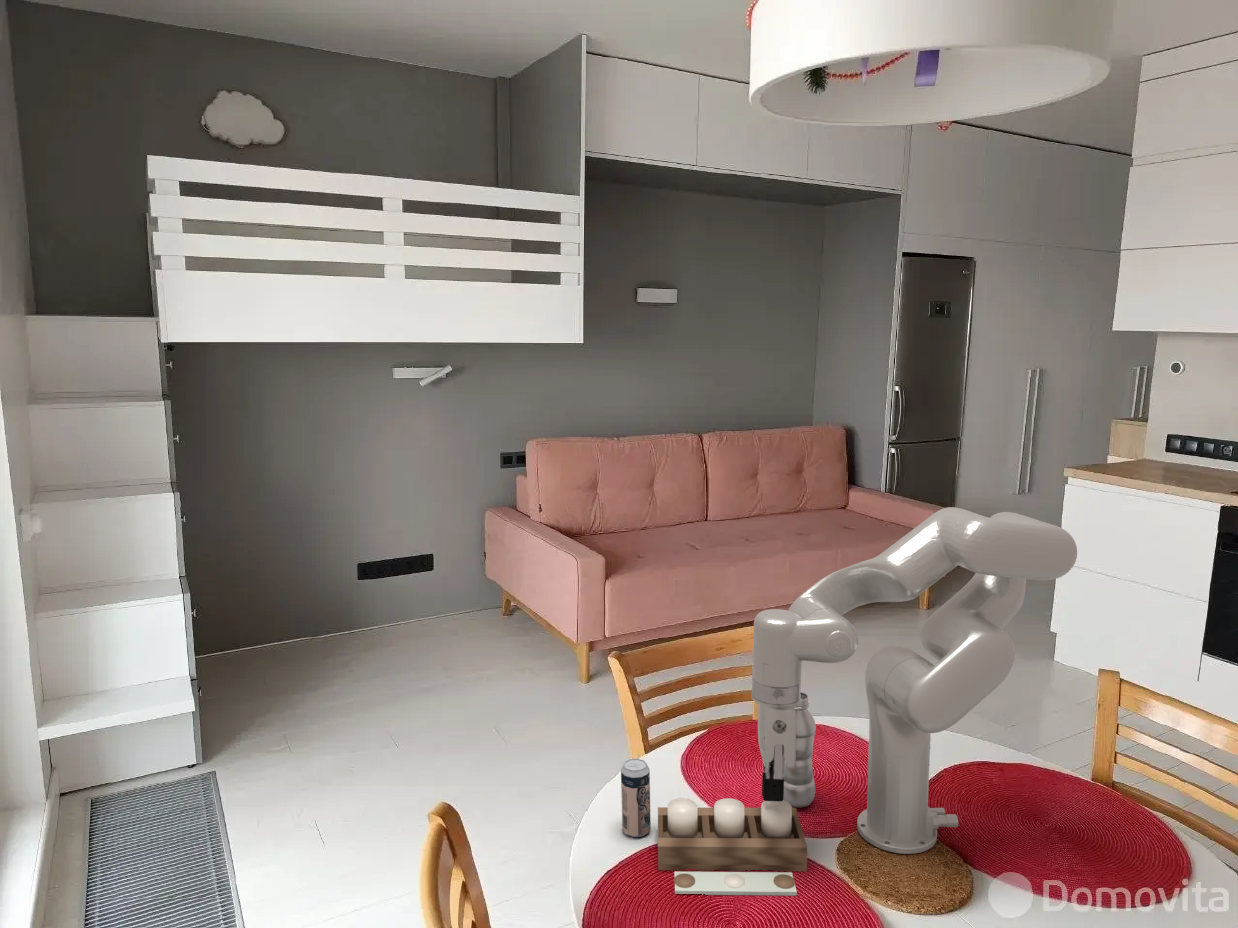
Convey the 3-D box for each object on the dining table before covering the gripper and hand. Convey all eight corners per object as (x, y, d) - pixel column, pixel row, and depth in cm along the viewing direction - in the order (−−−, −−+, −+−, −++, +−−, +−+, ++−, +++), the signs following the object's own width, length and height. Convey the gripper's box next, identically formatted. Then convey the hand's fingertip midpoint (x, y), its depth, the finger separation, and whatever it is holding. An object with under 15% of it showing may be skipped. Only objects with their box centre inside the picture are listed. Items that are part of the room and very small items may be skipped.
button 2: (789, 823, 140) (789, 798, 139) (793, 840, 135) (793, 814, 134) (759, 823, 140) (759, 798, 139) (763, 840, 135) (763, 814, 134)
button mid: (742, 823, 140) (742, 798, 139) (745, 840, 135) (745, 814, 134) (713, 822, 140) (713, 798, 139) (715, 840, 135) (715, 814, 135)
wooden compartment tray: (795, 829, 143) (795, 807, 142) (806, 871, 132) (807, 847, 131) (658, 829, 144) (657, 807, 143) (658, 869, 133) (657, 846, 133)
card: (792, 875, 131) (792, 871, 131) (797, 895, 127) (797, 890, 126) (673, 874, 132) (673, 870, 132) (674, 894, 127) (674, 889, 127)
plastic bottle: (818, 796, 153) (820, 690, 150) (810, 816, 147) (812, 706, 144) (783, 789, 156) (784, 685, 153) (773, 808, 150) (774, 700, 146)
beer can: (648, 840, 141) (646, 772, 139) (619, 837, 142) (618, 770, 140) (652, 824, 146) (651, 758, 144) (625, 821, 147) (623, 756, 145)
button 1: (696, 822, 140) (696, 798, 140) (698, 840, 135) (698, 814, 135) (667, 822, 140) (667, 797, 140) (668, 839, 136) (667, 814, 135)
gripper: (808, 710, 126) (804, 825, 129) (792, 671, 141) (789, 775, 143) (757, 709, 126) (754, 824, 129) (747, 670, 141) (744, 773, 144)
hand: (772, 798), depth 136 cm, fingers closed
